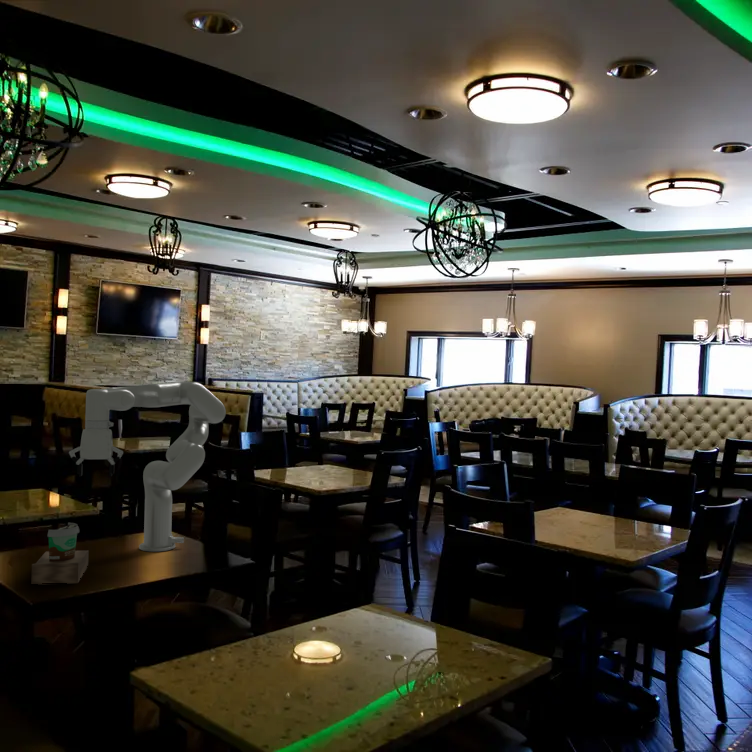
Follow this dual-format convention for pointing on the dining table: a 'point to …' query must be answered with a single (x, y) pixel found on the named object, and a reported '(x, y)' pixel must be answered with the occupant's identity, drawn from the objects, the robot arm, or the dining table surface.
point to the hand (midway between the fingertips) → (95, 476)
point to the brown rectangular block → (59, 569)
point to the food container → (62, 542)
